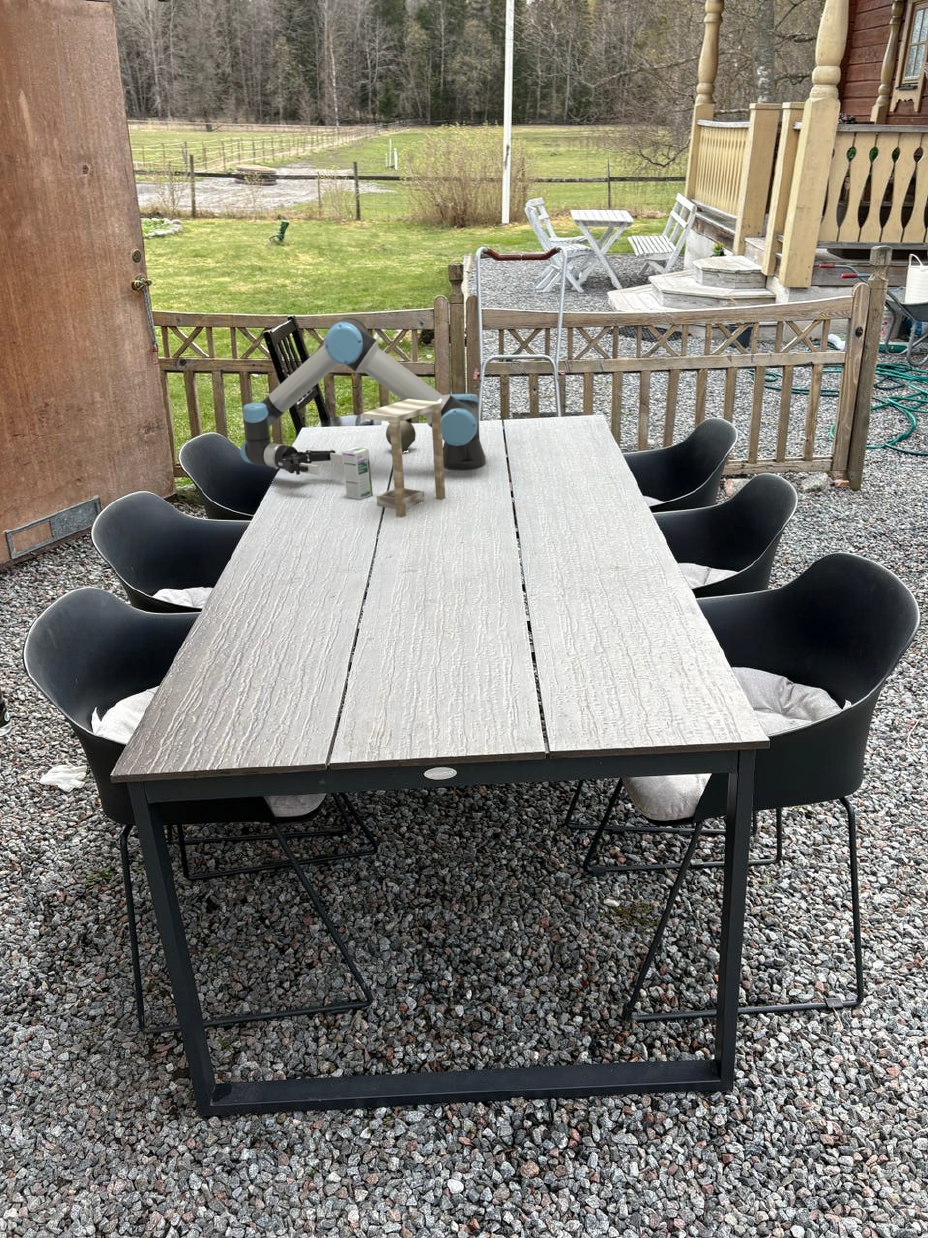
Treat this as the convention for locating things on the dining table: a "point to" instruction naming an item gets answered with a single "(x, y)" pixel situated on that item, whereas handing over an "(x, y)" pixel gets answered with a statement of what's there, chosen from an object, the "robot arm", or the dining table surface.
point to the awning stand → (394, 414)
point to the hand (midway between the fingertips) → (332, 464)
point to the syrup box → (357, 473)
